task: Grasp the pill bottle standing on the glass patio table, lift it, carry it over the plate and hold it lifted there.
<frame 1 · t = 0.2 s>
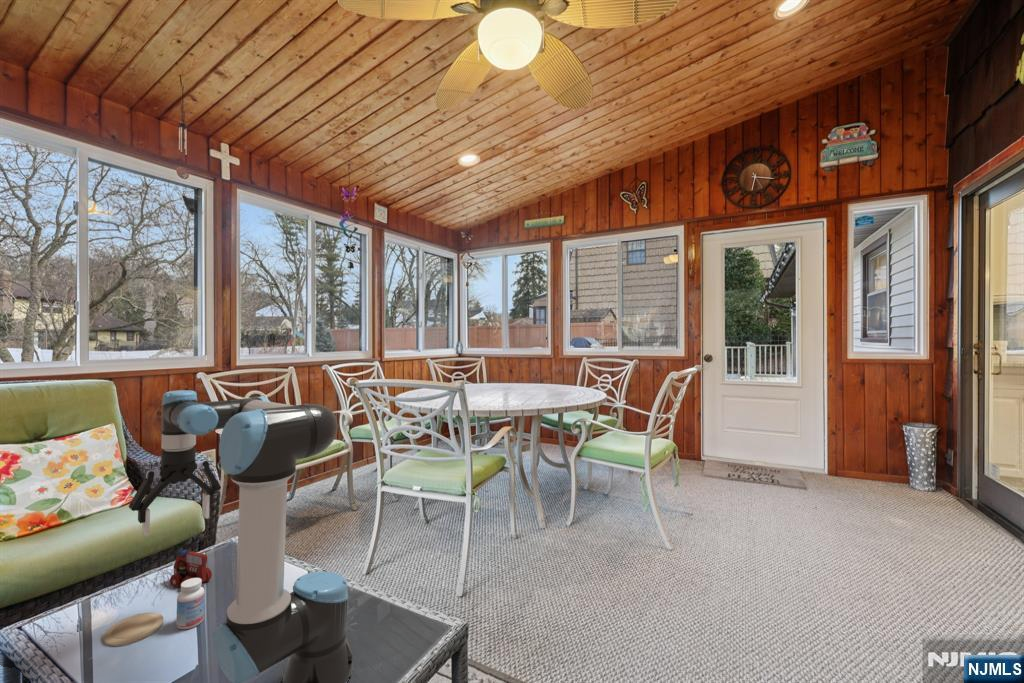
hand: (177, 525, 121), 26 cm above the table, fingers open, 13 cm apart
toy fire truck: (190, 584, 138), on the table
pill bottle: (190, 623, 120), on the table
plate: (134, 629, 117), on the table
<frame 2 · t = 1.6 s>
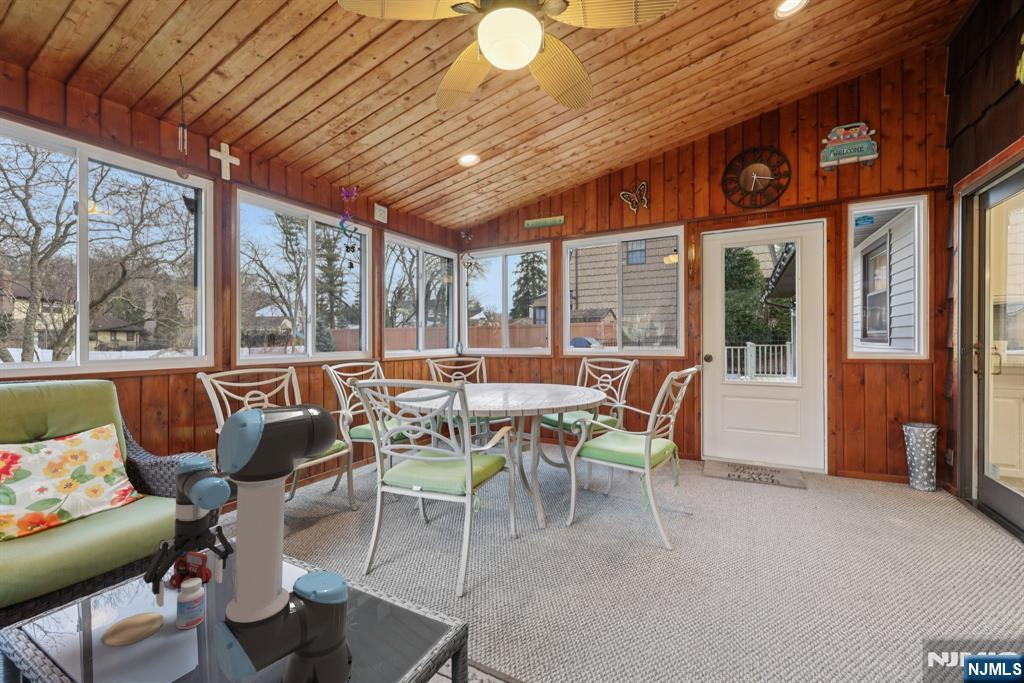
hand: (190, 592, 120), 8 cm above the table, fingers open, 13 cm apart
nothing on the table moved.
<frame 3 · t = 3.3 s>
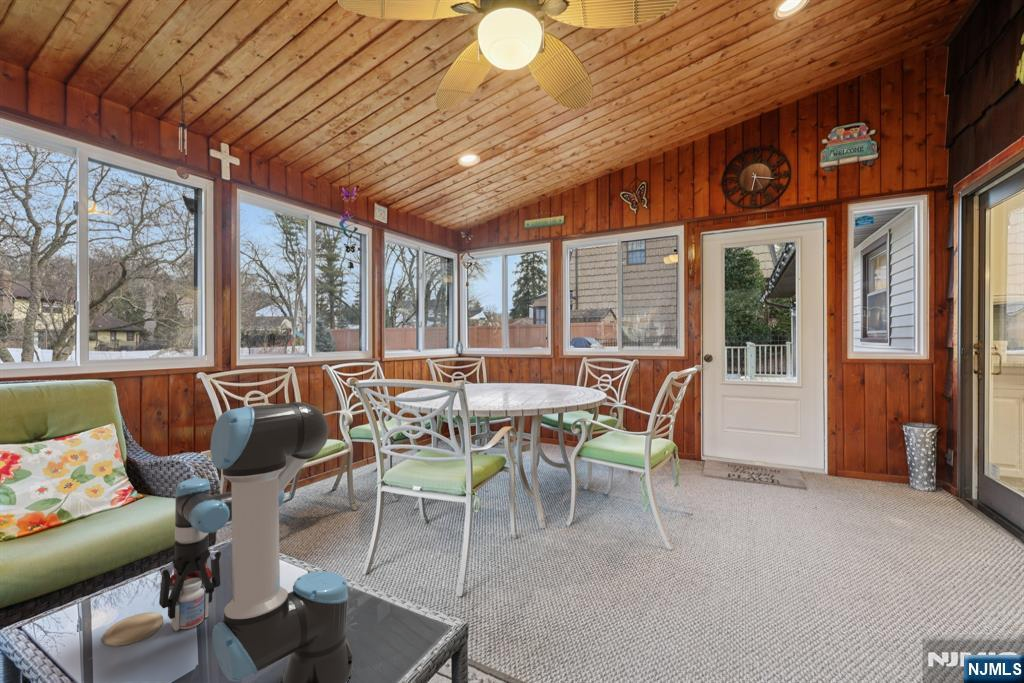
hand: (190, 621, 120), 0 cm above the table, fingers closed on pill bottle, 6 cm apart
pill bottle: (190, 623, 120), on the table, touching gripper
everything else where it was.
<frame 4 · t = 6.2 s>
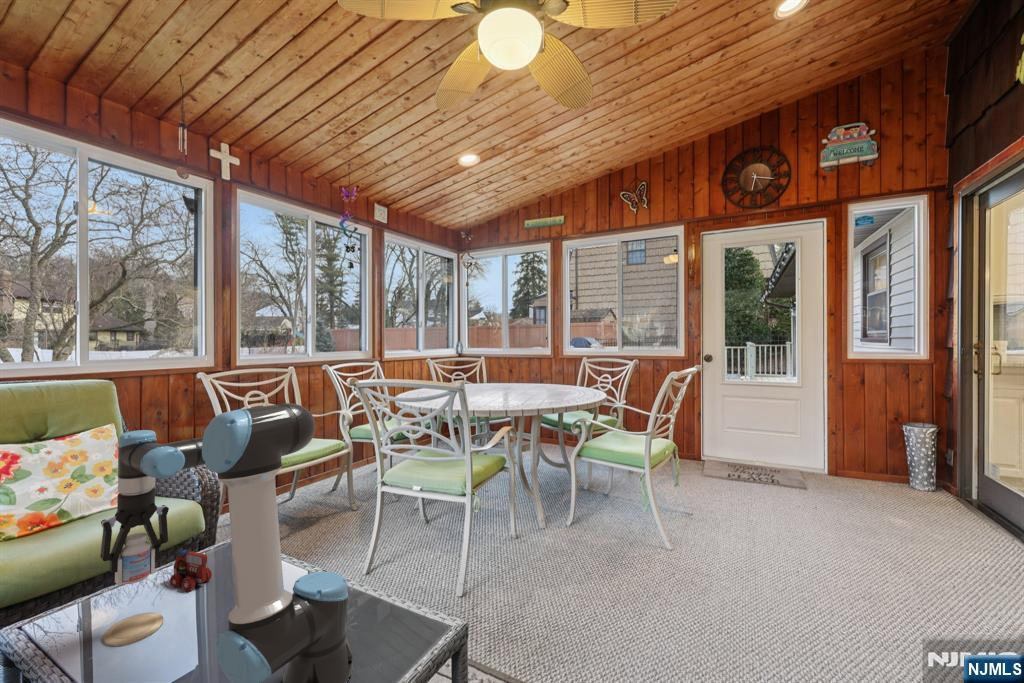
hand: (135, 577, 116), 14 cm above the table, fingers closed on pill bottle, 6 cm apart
pill bottle: (135, 579, 116), point 13 cm above the table, touching gripper
everything else where it was.
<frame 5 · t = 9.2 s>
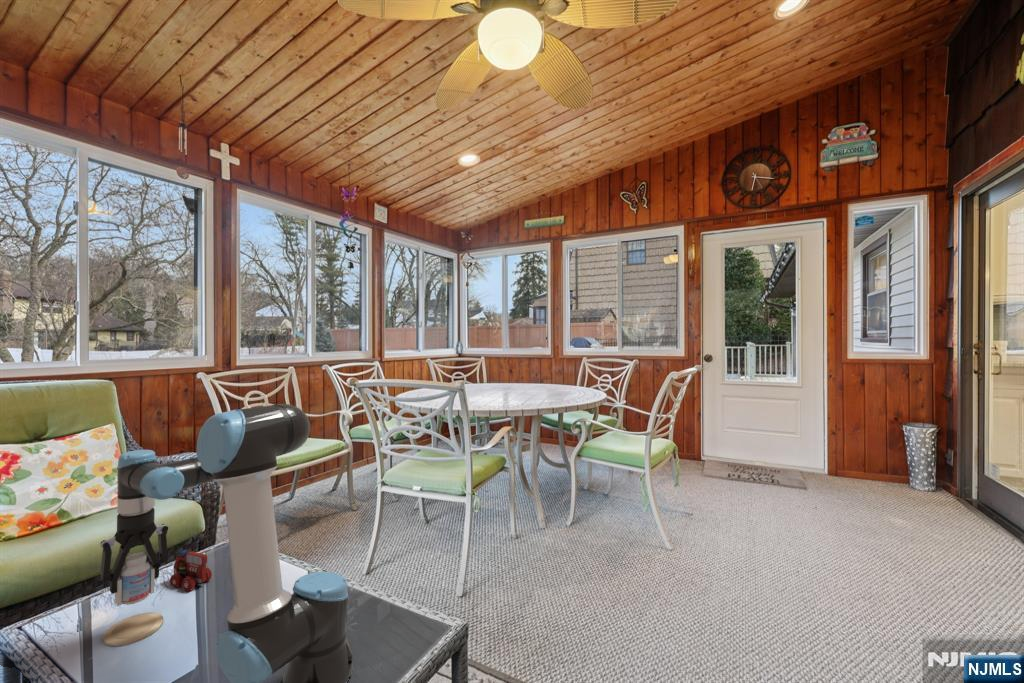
hand: (134, 597, 116), 9 cm above the table, fingers closed on pill bottle, 6 cm apart
pill bottle: (134, 599, 117), point 8 cm above the table, touching gripper
everything else where it was.
at the end: the gripper is holding pill bottle; pill bottle point 8.2 cm above the table; pill bottle 0.0 cm from the plate (horizontally) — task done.
